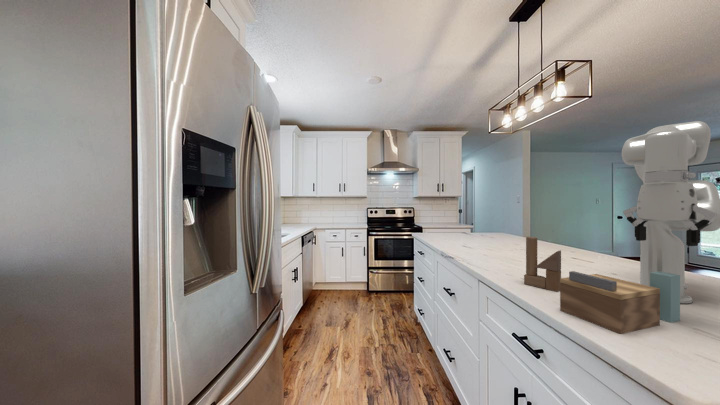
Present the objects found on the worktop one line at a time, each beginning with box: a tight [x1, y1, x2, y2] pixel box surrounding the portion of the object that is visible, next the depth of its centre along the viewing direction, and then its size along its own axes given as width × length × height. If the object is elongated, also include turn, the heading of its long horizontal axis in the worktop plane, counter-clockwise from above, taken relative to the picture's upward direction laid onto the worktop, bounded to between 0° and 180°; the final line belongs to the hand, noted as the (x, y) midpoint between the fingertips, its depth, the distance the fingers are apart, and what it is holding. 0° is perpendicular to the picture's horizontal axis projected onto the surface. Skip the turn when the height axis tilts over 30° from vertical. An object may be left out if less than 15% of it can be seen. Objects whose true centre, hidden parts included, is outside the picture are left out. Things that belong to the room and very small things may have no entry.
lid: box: [560, 270, 660, 300], centre depth 71 cm, size 15×14×4 cm
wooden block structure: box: [523, 236, 562, 293], centre depth 96 cm, size 4×11×18 cm, turn 35°
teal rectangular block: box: [650, 271, 681, 324], centre depth 70 cm, size 4×4×12 cm
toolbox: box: [559, 283, 661, 335], centre depth 71 cm, size 15×14×8 cm
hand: (664, 242), depth 70 cm, fingers open, 9 cm apart
